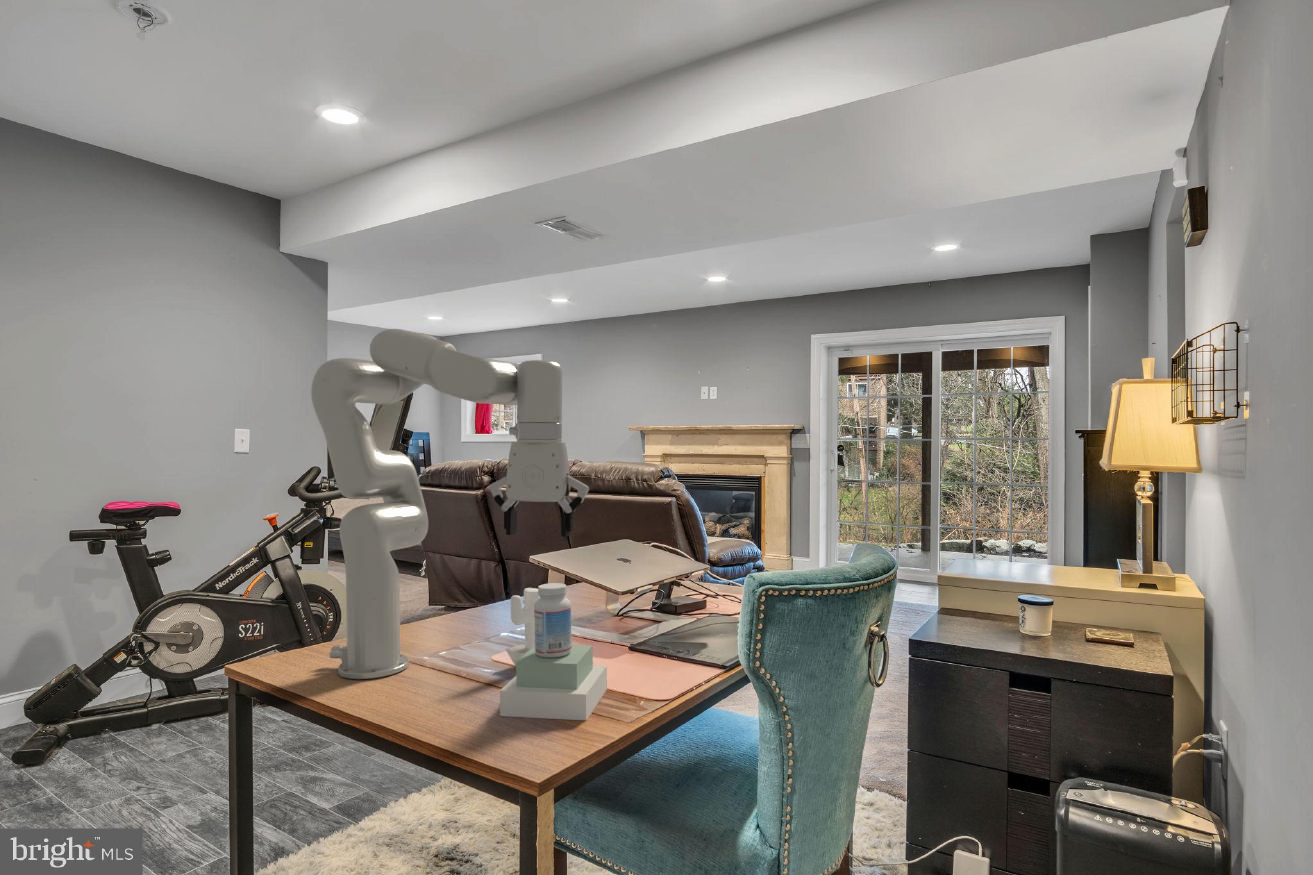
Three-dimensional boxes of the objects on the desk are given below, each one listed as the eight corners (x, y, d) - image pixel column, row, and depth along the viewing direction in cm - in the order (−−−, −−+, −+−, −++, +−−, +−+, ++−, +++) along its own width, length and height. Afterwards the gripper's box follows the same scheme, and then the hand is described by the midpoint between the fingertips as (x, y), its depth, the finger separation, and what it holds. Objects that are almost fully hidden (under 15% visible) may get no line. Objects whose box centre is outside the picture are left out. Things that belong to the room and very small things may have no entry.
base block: (500, 715, 110) (499, 690, 111) (530, 685, 124) (529, 662, 124) (586, 720, 108) (586, 694, 108) (607, 688, 122) (606, 665, 122)
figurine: (563, 663, 136) (562, 586, 136) (526, 677, 129) (525, 595, 129) (537, 657, 141) (537, 582, 141) (500, 669, 133) (500, 590, 133)
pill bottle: (576, 648, 119) (575, 582, 119) (564, 659, 113) (563, 590, 113) (543, 647, 120) (542, 581, 120) (528, 657, 114) (528, 588, 114)
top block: (516, 686, 112) (516, 661, 112) (536, 666, 122) (536, 643, 122) (577, 689, 111) (576, 663, 111) (592, 669, 120) (592, 645, 120)
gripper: (482, 433, 116) (481, 536, 116) (582, 434, 114) (581, 540, 114) (499, 433, 124) (498, 530, 124) (594, 434, 121) (593, 533, 121)
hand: (538, 534), depth 119 cm, fingers open, 9 cm apart
